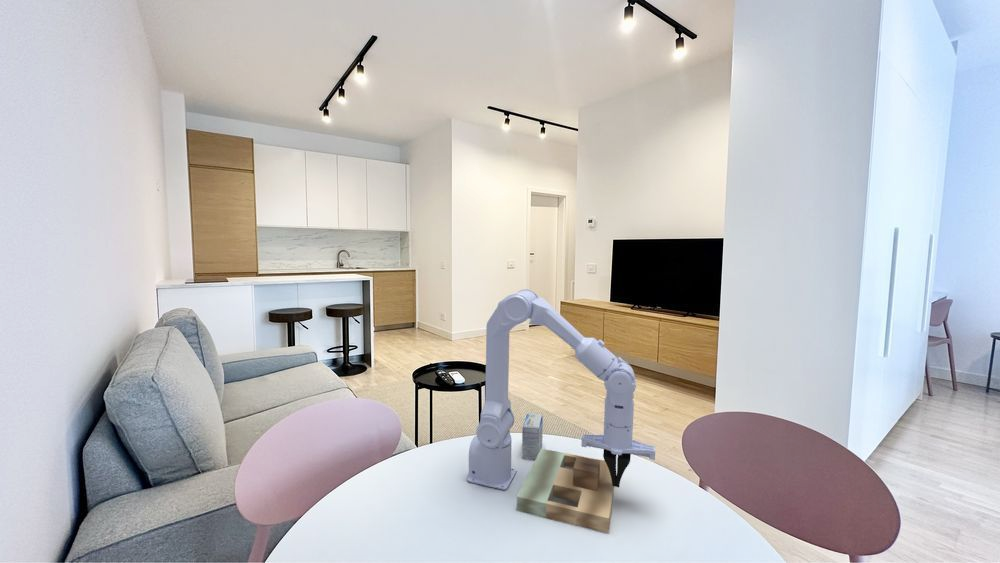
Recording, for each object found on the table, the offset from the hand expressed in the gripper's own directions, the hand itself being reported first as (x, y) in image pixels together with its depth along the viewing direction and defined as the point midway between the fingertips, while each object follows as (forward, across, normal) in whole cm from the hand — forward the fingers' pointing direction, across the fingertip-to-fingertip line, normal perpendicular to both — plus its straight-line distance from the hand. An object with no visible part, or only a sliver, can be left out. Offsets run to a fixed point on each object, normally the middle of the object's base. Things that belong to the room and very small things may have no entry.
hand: (615, 484), depth 82 cm
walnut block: (+1, -6, 0) cm, 6 cm away
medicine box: (+4, -22, +13) cm, 26 cm away
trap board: (+4, -10, 0) cm, 10 cm away
